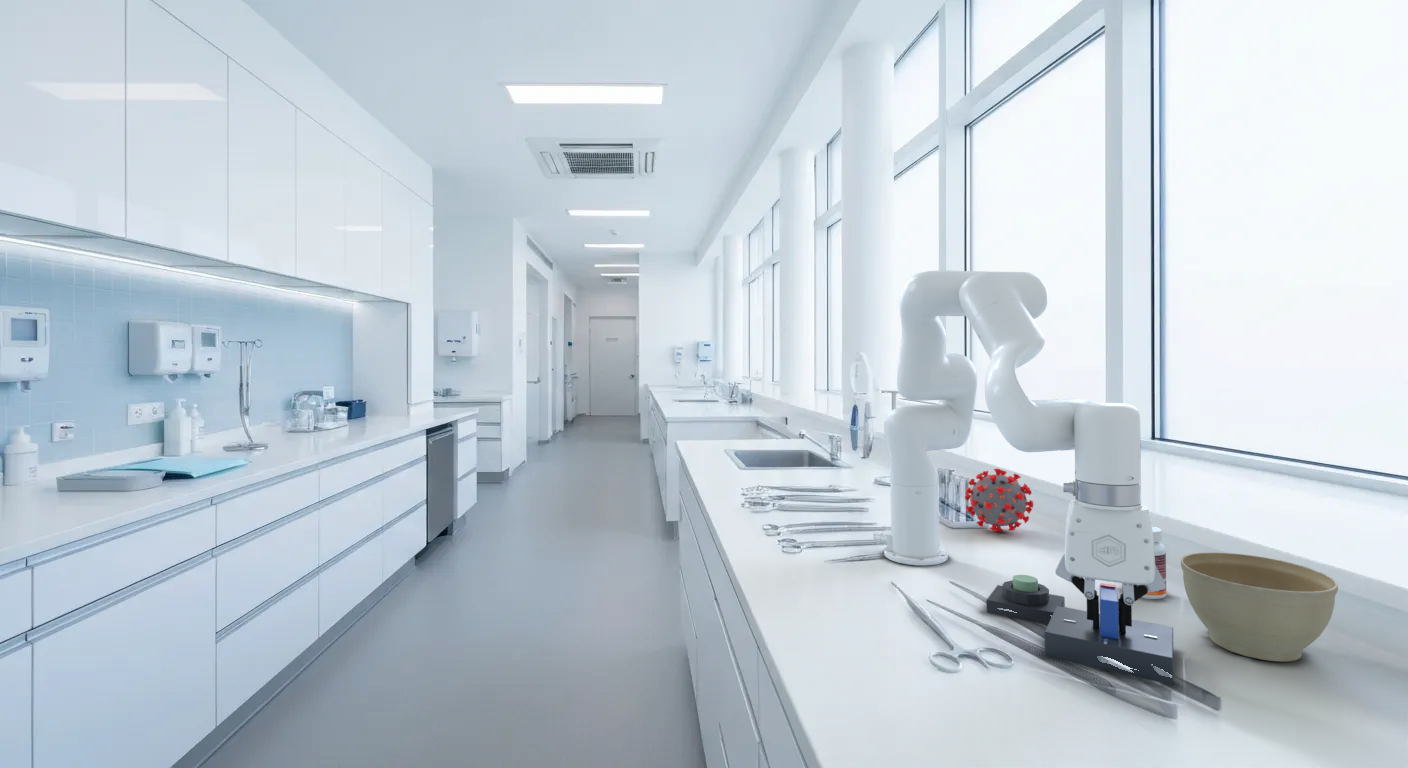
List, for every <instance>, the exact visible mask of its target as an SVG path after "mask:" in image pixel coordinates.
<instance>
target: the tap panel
mask: <svg viewBox="0 0 1408 768" xmlns="http://www.w3.org/2000/svg"><path fill="white" fill-rule="evenodd" d="M1118 625H1119V618H1118ZM1044 630H1045V631H1044V657H1046V658H1051V659H1055V660H1060V661H1064V662H1069V663H1073V664H1077V665H1082V666H1086V667H1091V668H1094V669H1098V670H1104V671H1108V672H1112V673H1116V674H1121V675H1126V676H1130V677H1135V678H1138V679H1144V680H1146V681H1147V680H1148V681H1151V682H1157V683H1160V684H1166V685H1169V686H1174V677H1173V678H1170V677H1165V676H1161V675H1159V674H1158V673H1157V672H1156V671H1155V670H1154V668H1153V666H1156V667H1158V668H1160V669H1163V670H1164V671H1165V672H1168V673H1169V674H1171V675H1173V676H1174V627H1173V626H1169V625H1164V624H1159V623H1153V622H1148V621H1142V620H1138V619H1132V627H1131V626H1126V634H1121V632H1119V639H1114V638H1108V637H1102V636H1101V633H1100V613H1099V629H1093V620H1087V610H1082V609H1077V608H1071V607H1066V606H1065V607H1061V606H1056V609H1055V611H1054V613H1053V615H1052V617H1051V619H1050V622H1049V624H1048V625H1047V626H1046V628H1045V629H1044ZM1097 656H1103V657H1108V658H1111V659H1114V660H1116V661H1118V662H1120V663H1122V664H1123V665H1126V666H1128V667H1130V668H1133V669H1130V670H1132V671H1133V672H1134V673H1133V672H1132V673H1131V672H1128V671H1125V670H1122V669H1119V668H1118V667H1115V666H1113V665H1111V664H1107V663H1102V662H1100V661H1099V660H1098V658H1097ZM1151 664H1153V666H1151ZM1134 669H1137V670H1134ZM1138 670H1139V671H1138Z"/></svg>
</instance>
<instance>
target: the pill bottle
mask: <svg viewBox="0 0 1408 768" xmlns="http://www.w3.org/2000/svg"><path fill="white" fill-rule="evenodd" d="M1152 530H1153V540H1154V554H1155V565H1156V567H1157V569H1158V571H1159V573H1160V575H1161V576H1162V578H1163V580H1164V582H1165V585H1166V586H1167V551H1166V546H1165V545H1164V544H1163V543H1161V542H1162V541H1163V537H1162V534H1163V532H1162V529H1161V528H1160V527H1158V526H1157V527H1156V526H1153V525H1152ZM1133 586H1134V584H1133ZM1166 596H1167V587H1166V588H1165V589H1163V590H1159V591H1155V592H1149V593H1147V594H1145V595H1144V596H1142V597H1141V598H1142V599H1148V600H1159V599H1163V598H1166ZM1141 598H1140V599H1141Z"/></svg>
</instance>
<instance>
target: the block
mask: <svg viewBox="0 0 1408 768" xmlns="http://www.w3.org/2000/svg"><path fill="white" fill-rule="evenodd" d="M1065 598H1066V597H1065V596H1063V595H1058V594H1052V593H1050V589H1049V588H1048V587H1047V586H1046V585H1044V584H1042V583H1038V591H1036V592H1025V591H1019V590H1017V589H1014V588H1013V579H1012V580H1007V581H1004V582H1003V583H1002V585H1000V584H997V585H996V586H995V588H994V589H993V591H991V593H990V595H988V597H987V599H986V600H985V601H986V614H991V615H997V616H1000V617H1001V616H1002V617H1006V618H1007V617H1008V618H1012V619H1018V620H1022V621H1026V622H1027V621H1028V622H1032V623H1037V624H1042V625H1047V626H1048V624H1049V622H1050V619H1051V616H1050V615H1053V613H1054V611H1055V609H1056V606H1061V607H1066V605H1065V601H1066V599H1065ZM997 608H1003V609H1009V610H1012V611H1014V612H1017V613H1014V612H1009V611H1004V610H999V609H997Z"/></svg>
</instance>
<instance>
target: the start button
mask: <svg viewBox="0 0 1408 768" xmlns="http://www.w3.org/2000/svg"><path fill="white" fill-rule="evenodd" d="M1038 579H1039V578H1037V577H1035V576H1032V575H1027V574H1016V575H1013V576H1012V580H1013V588H1014V589H1017V590H1019V591H1025V592H1036V591H1038V584H1039V580H1038Z"/></svg>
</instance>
